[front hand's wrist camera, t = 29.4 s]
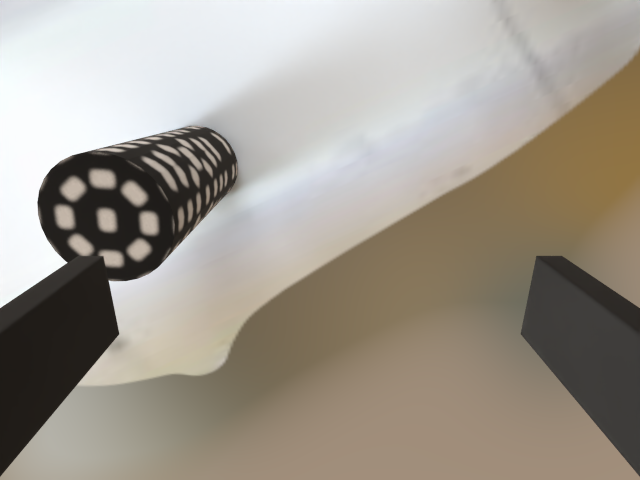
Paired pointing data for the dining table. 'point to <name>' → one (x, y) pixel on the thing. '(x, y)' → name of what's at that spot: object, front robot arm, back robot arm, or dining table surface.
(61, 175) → the polka dot cylinder
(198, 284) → the dining table surface
